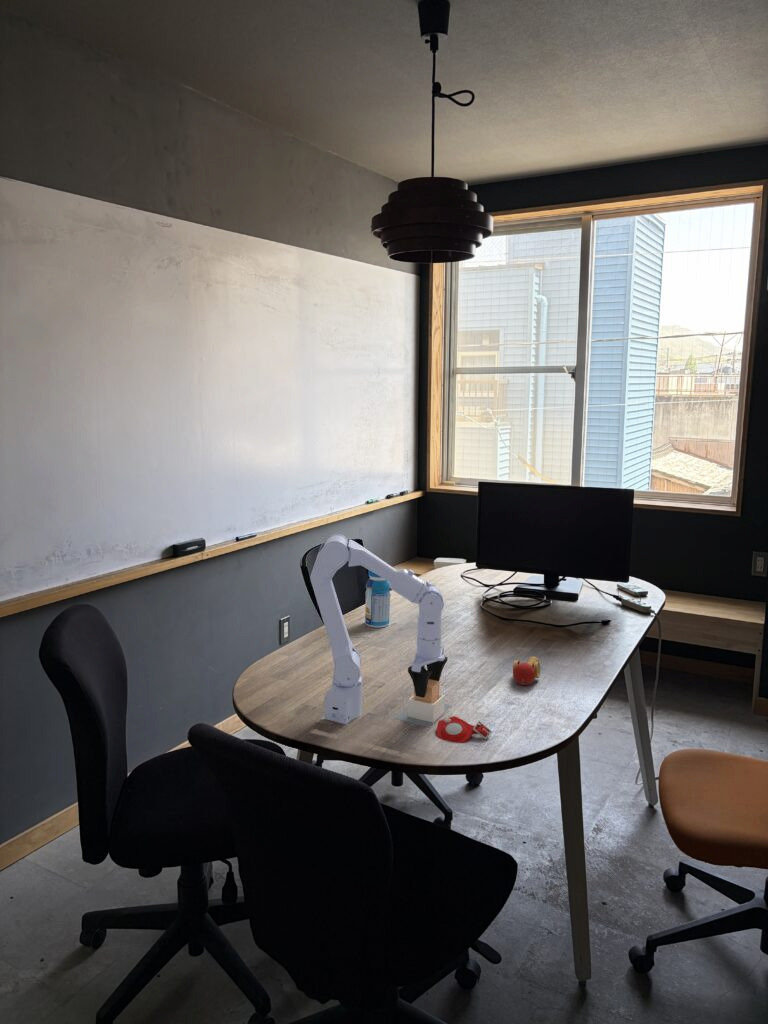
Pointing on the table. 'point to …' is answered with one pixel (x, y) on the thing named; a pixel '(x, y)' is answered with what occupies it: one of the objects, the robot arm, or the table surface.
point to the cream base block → (426, 709)
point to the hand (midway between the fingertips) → (427, 690)
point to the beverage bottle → (377, 601)
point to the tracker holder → (460, 730)
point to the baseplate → (404, 717)
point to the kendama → (526, 671)
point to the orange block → (430, 692)
